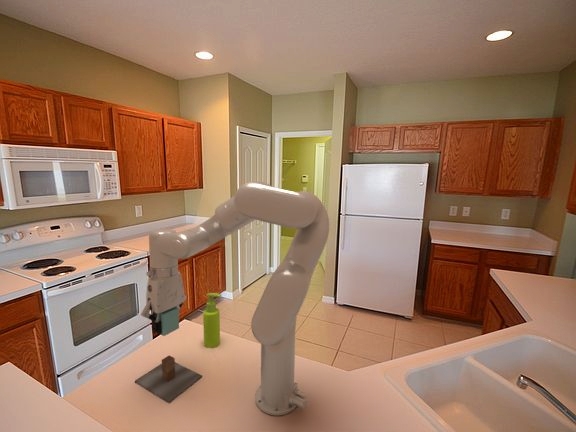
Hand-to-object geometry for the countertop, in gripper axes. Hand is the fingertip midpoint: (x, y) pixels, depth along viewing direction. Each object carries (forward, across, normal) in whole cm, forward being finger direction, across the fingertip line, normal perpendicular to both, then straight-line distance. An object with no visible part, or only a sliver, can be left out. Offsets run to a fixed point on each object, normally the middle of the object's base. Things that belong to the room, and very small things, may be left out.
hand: (166, 327), depth 83 cm
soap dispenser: (+17, +21, +2) cm, 27 cm away
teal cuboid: (+1, 0, 0) cm, 1 cm away
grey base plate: (+17, 0, 0) cm, 17 cm away
